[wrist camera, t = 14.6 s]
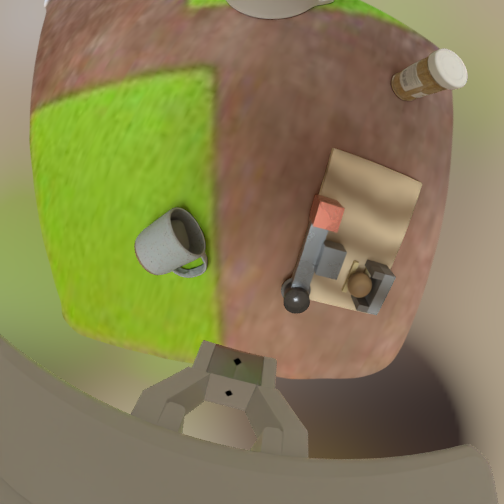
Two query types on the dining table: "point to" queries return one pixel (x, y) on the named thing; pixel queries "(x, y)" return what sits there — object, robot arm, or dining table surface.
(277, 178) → the dining table surface
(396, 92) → the sprinkles bottle
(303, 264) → the lever
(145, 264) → the ceramic mug
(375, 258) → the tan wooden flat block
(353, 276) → the brown ball
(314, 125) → the dining table surface
